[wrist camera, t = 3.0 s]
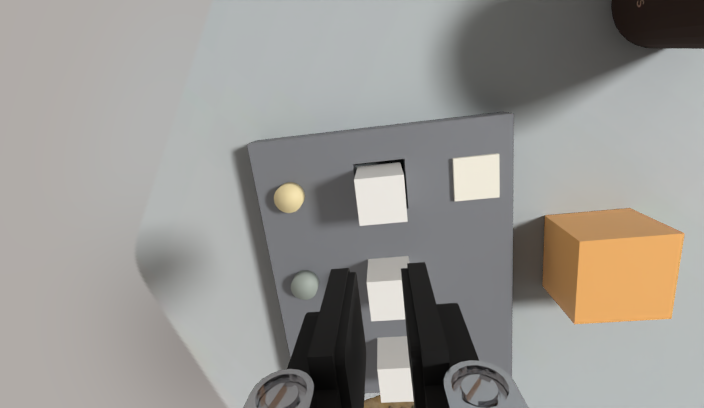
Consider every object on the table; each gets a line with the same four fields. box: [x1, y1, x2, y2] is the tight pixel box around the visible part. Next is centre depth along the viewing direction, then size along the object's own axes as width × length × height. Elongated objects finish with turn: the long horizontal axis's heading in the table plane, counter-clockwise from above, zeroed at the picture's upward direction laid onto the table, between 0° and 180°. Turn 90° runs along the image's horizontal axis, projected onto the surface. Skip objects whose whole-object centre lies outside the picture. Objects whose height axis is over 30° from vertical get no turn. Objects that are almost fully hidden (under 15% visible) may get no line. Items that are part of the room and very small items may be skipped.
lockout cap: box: [542, 208, 684, 324], centre depth 25 cm, size 6×6×5 cm
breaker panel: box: [247, 112, 514, 403], centre depth 27 cm, size 18×22×6 cm
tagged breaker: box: [354, 162, 408, 226], centre depth 24 cm, size 3×3×4 cm
